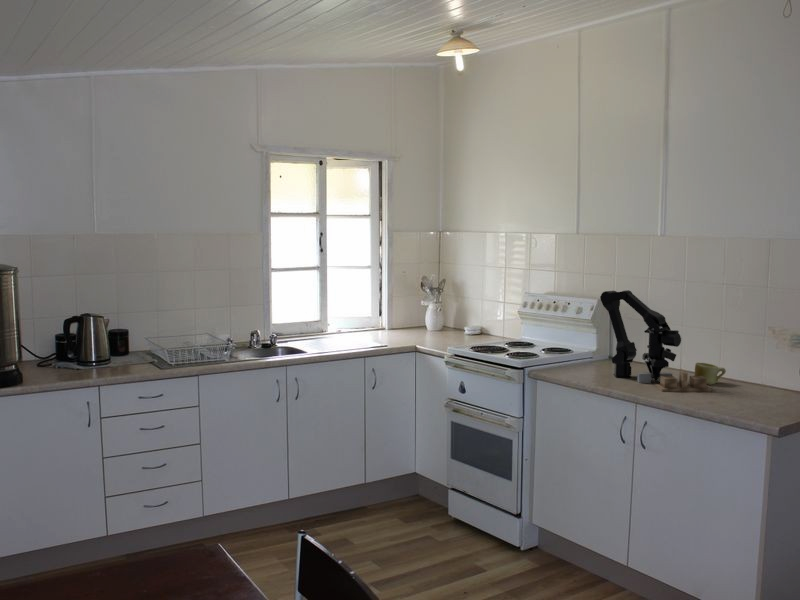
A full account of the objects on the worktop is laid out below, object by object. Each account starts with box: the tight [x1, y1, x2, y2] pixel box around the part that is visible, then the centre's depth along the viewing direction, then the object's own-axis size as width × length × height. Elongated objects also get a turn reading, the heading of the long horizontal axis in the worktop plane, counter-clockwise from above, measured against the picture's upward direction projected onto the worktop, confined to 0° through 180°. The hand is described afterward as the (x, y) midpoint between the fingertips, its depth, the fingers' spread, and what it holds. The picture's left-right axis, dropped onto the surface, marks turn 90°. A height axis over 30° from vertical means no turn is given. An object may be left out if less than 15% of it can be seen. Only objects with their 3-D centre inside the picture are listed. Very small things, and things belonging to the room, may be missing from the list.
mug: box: [694, 362, 727, 386], centre depth 324 cm, size 12×10×10 cm
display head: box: [655, 371, 712, 393], centre depth 313 cm, size 20×9×7 cm, turn 87°
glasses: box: [636, 372, 673, 384], centre depth 326 cm, size 14×3×4 cm, turn 87°
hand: (654, 379), depth 327 cm, fingers open, 4 cm apart
